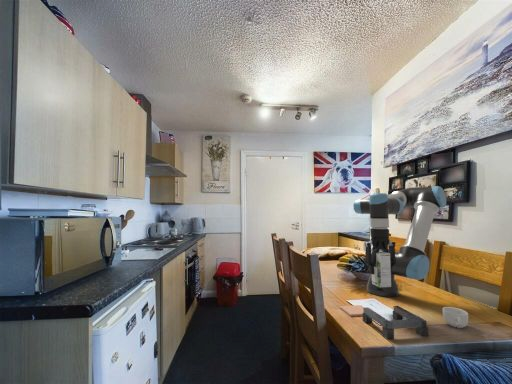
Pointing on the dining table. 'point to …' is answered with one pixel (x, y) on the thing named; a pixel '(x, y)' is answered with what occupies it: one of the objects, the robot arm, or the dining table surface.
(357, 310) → the terracotta tile
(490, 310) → the dining table surface
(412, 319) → the grey stand frame
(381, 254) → the syrup box
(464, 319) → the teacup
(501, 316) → the dining table surface
